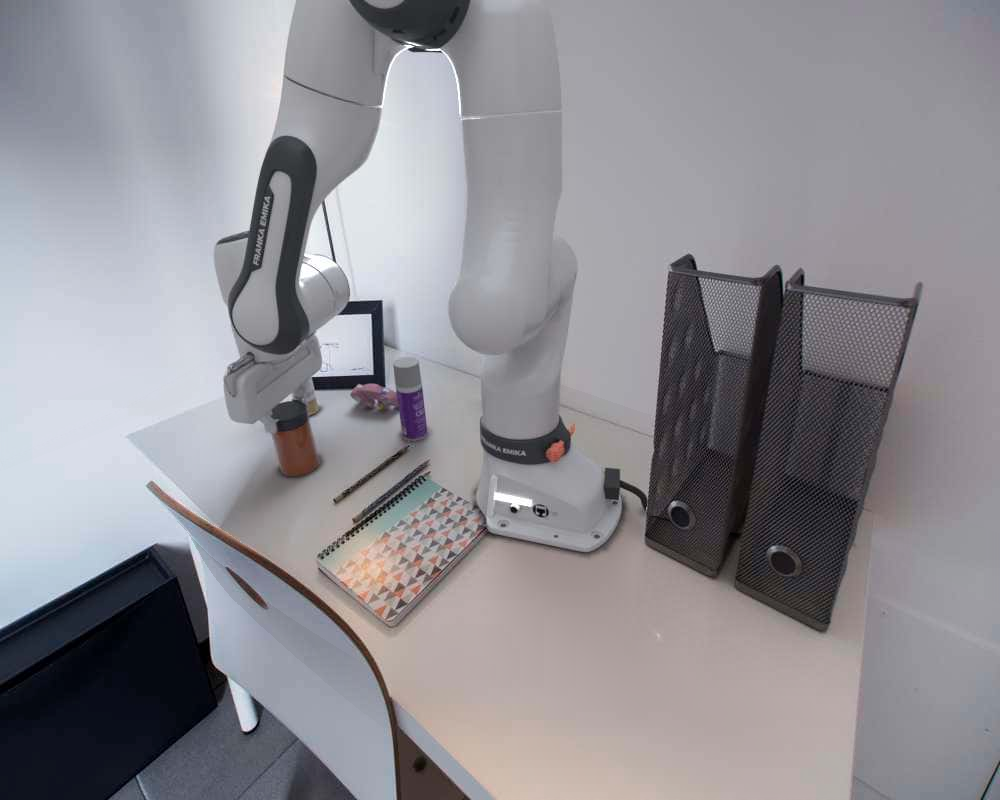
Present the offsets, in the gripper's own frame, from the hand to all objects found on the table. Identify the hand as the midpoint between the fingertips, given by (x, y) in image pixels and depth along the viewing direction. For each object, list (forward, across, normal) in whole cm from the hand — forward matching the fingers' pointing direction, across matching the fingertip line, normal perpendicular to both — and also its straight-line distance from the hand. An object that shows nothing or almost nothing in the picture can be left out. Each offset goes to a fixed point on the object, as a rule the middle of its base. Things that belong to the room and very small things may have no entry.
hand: (288, 418), depth 87 cm
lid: (-1, 0, 0) cm, 1 cm away
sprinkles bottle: (+10, +17, +9) cm, 21 cm away
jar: (+10, 0, 0) cm, 10 cm away
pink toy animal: (+10, +22, -5) cm, 24 cm away
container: (+10, +13, -16) cm, 23 cm away
